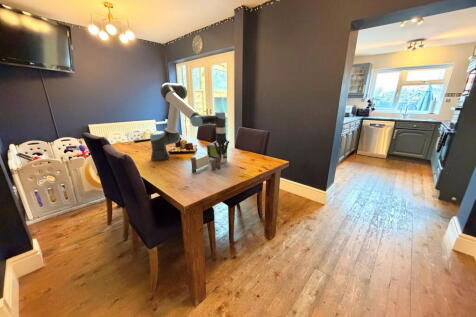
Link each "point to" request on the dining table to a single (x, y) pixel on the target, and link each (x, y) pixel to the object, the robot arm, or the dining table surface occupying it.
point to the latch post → (218, 162)
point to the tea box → (212, 152)
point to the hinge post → (193, 164)
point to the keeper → (213, 165)
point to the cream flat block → (202, 161)
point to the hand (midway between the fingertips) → (221, 161)
